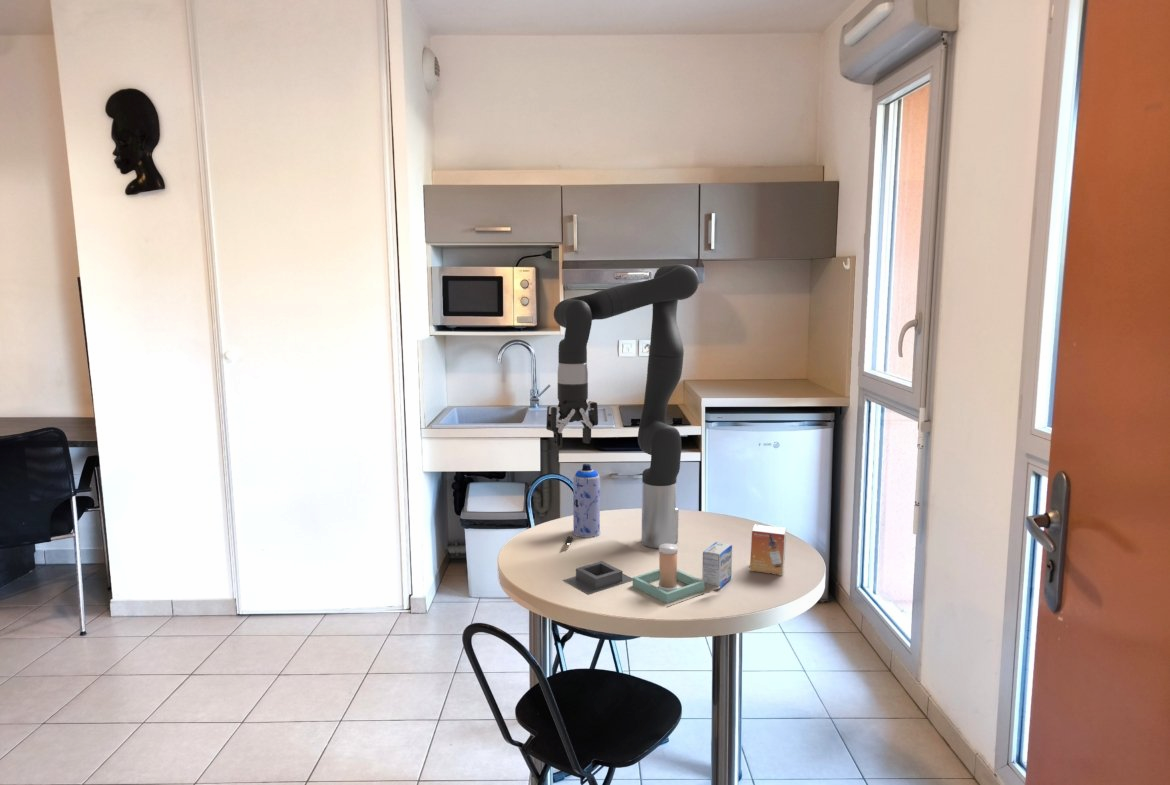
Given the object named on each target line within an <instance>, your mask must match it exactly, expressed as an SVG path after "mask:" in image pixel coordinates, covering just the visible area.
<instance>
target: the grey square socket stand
mask: <svg viewBox="0 0 1170 785" xmlns="http://www.w3.org/2000/svg"><path fill="white" fill-rule="evenodd" d="M562 582H564V583H566V584H568V585H569V586H572V587H573V588H575V589H577V590H579V591H581V592H582V593H584V594H586V595H588V596H590V595H593V594H595V593H598V592H601V591H604V590H607V589H610V588H614V587H617V586H620V585H624V584H626V583H630V582H633V577H631V576H629V575H627V574H625V573H623V571H622V570H621V569H619V568H617V567H615V566H612V565H611V564H608V563H606V562H605V561H602V560H601V561H597V562H594V563H591V564H587V565H584V566H580V567H576V568H575V576H572V577H569V578H566V579H562Z"/></svg>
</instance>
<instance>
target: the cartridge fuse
mask: <svg viewBox="0 0 1170 785" xmlns="http://www.w3.org/2000/svg"><path fill="white" fill-rule="evenodd" d="M678 548H679V547H678V545H676V544H661V545H660V546H659V548H658V551H659V556H658V558H659V560H658V561H659V567H658V568H659V579H658V580H659V581H658V588H660V589H662V590H664V591H666V592H670V591H673V590H676V589H678V580H677V570H678Z"/></svg>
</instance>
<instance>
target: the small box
mask: <svg viewBox="0 0 1170 785" xmlns="http://www.w3.org/2000/svg"><path fill="white" fill-rule="evenodd" d="M750 538H751V541H750V560H749V561H750V562H749V571H751V572H758V573H765V574H770V573H772V575H776V574H780V575H779V576H783V574H784V570H785V564H786V562H785V560H786V542H787V527H781V526H771V525H770V526H769V525H762V524H754V525H753V527H752V530H751V537H750Z"/></svg>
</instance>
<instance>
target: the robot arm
mask: <svg viewBox="0 0 1170 785" xmlns="http://www.w3.org/2000/svg"><path fill="white" fill-rule="evenodd" d="M699 281H700V279H699V275H698V273H697V271H696V270H695V269H694V268H693V267H692V266H690V265H687V264H680V263H678V264H665V265H662V266H660V267H658V269H657V270H656V271H655V274H654V275H653V278H651V279H647V280H643V281H636V282H632V283H627V284H621V285H616V286H612V287H609V288H606V289H605V288H604V289H602V290H598V291H596V292H593V293H590V294H584V295H580V296H575V297H571V298H569V297H568V298H566V299H563V300H561V301H560V302H558V303H557V304H556V306H555V308H554V311H553V318H554V321H555V323H556V324H558V326H560V327H561V328H564V329H565V331H564V338H563V339H561V340H560V341H559V343H558V353H557V354H558V355H557V358H558V365H557V401H558V404H557V406H552V405H548V406H547V408H546V412H547V413H546V427H545V428H546V430H547V431H550V432H551V431H552V433H553V445H554V446H555V447H556V448H559V449H560V448H563V431H564V429H565V427H567V425H568V424H569V423H573V422H580V423H581V425H582V426H583V428H582V443H584V444H590V443H591V440H592V428H593V427H595V426H598V425H599V412H598V408H599V407H598V403H597V402H595V401H591V400H590V401H587V400H588V399H589V382H588V380H589V373H588V372H589V370H588V363H587V362H588V349H587V346H588V343H589V337H590V334H591V329H592V323H593V321H594V320H606V319H609V318H613V317H616V316H618V315H619V316H620V315H622V314H625V313H628V312H630V311H634V310H637V309H640V308H643V307H646V306H650V305H652V319H651V330H650V343H649V352H648V361H647V368H646V369H647V371H646V372H647V373H646V381H645V382H646V383H645V388H644V389H645V391H644V401H643V405H642V406H643V407H642V410H641V411H642V412H641V416H640V421H639V426H638V431H637V432H638V433H637V443H638V446H639V449H640V450H641V451H642V452H643V453H645V454H647V455H649V456H650V466H649V467H648V468H645V469H644V470H643V471H642V474H641V475H642V476H641V477H642V478H641V481H642V482H641V483H642V484H641V544H642V545H643V546H646V547H648V548H655V549H659V546H660V545H661V544H674V545H676V543H678V542H679V508H678V507H677V478H678V475H679V473H680V469H681V457H682V436H681V433H680V432H679V430H678V429H677V427H675V426H673V425H671V424H668V423H666V422H667V420H666V419H667V409H668V405H669V401H670V398H671V396H672V395H673V393H674V392H675V389H677V386H678V384H679V382H680V380H681V379H682V378H681V377H682V373H683V364H684V355H685V354H684V352H685V351H684V350H685V349H684V344H683V341H682V337H681V334H680V330H679V327H678V322H677V311H678V302H679V301H683V300H686V299H689V298H691V297H692V296H693V295H695V293H696V292H697V290H698V287H699ZM586 412H587V413H588V414H587V413H586Z"/></svg>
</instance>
